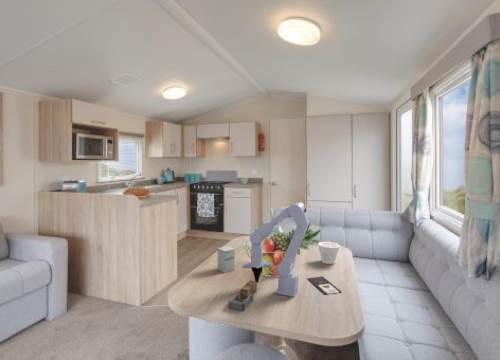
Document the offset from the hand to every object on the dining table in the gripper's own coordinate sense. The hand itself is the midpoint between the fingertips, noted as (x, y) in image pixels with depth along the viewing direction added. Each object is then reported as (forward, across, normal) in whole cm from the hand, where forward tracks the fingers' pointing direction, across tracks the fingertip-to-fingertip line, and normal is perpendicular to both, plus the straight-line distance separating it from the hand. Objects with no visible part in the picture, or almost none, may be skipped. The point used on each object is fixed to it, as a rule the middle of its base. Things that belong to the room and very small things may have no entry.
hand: (256, 281), depth 144 cm
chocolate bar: (+3, +34, -3) cm, 34 cm away
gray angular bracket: (+2, -10, -17) cm, 19 cm away
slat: (+3, -5, -9) cm, 10 cm away
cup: (+3, +50, +28) cm, 57 cm away
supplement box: (+3, -14, +23) cm, 27 cm away
